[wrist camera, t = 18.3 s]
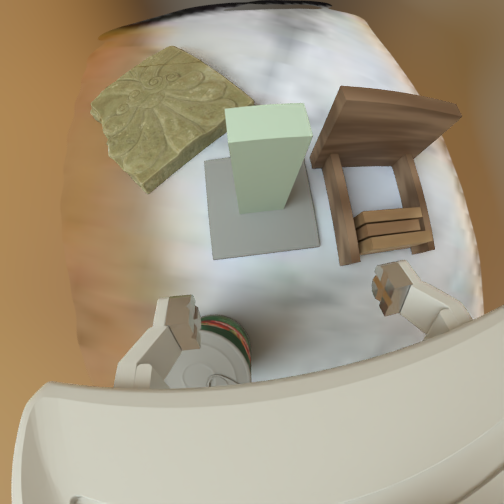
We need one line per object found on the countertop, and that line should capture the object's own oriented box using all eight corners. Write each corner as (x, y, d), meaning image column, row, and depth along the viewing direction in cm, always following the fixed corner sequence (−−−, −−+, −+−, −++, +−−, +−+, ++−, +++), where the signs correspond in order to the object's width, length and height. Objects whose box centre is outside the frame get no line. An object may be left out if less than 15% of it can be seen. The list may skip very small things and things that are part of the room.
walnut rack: (424, 252, 31) (499, 233, 17) (329, 267, 30) (386, 252, 17) (401, 156, 32) (456, 104, 19) (309, 157, 32) (340, 85, 18)
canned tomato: (174, 366, 29) (140, 401, 18) (193, 304, 30) (162, 314, 19) (239, 388, 29) (234, 435, 18) (260, 327, 30) (265, 349, 19)
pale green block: (283, 209, 31) (312, 136, 15) (239, 214, 31) (228, 143, 15) (279, 188, 31) (303, 103, 15) (236, 192, 31) (224, 108, 15)
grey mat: (318, 247, 31) (319, 246, 30) (213, 260, 31) (212, 259, 30) (300, 152, 32) (301, 150, 32) (204, 163, 32) (204, 161, 31)
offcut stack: (408, 247, 31) (434, 240, 25) (352, 256, 31) (373, 249, 25) (402, 216, 31) (427, 203, 25) (346, 221, 31) (365, 207, 25)
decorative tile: (176, 53, 35) (172, 39, 32) (256, 113, 34) (257, 97, 30) (86, 120, 34) (76, 109, 30) (146, 201, 32) (135, 192, 29)
